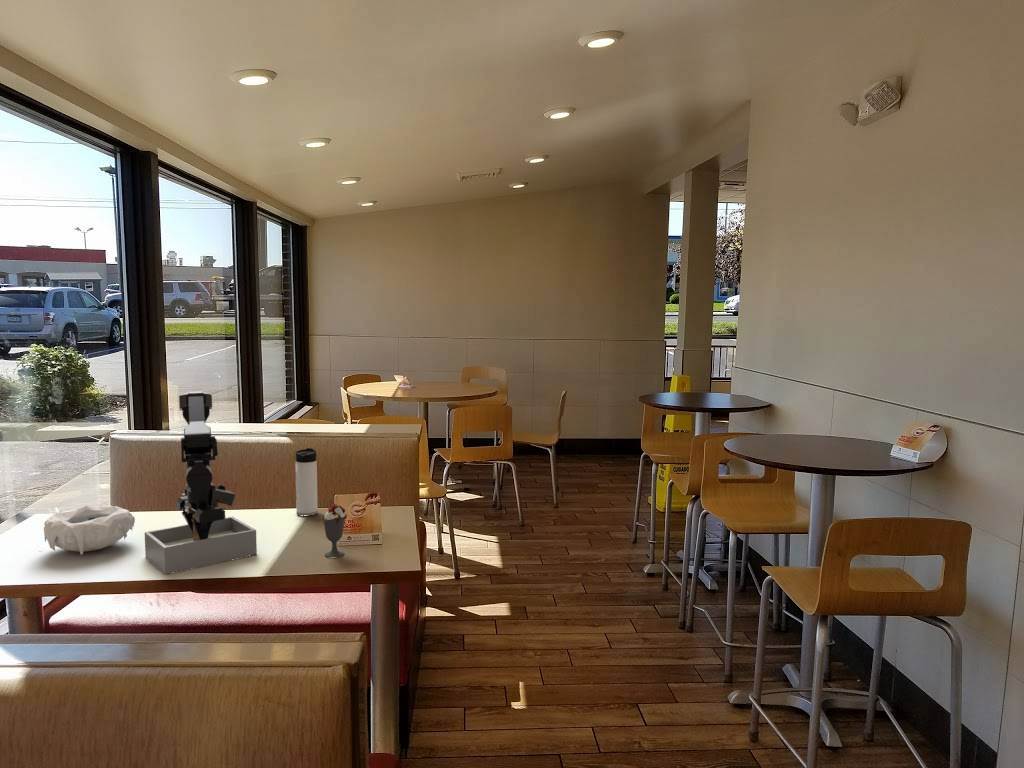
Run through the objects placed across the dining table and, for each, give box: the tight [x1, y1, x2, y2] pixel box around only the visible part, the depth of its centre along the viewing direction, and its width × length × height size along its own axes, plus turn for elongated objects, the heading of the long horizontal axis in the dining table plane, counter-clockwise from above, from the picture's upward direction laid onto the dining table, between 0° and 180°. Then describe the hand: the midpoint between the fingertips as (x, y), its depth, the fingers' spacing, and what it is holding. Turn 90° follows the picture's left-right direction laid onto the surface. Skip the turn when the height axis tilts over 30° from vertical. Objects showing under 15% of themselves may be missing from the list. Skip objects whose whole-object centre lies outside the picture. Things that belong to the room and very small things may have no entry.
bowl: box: [43, 504, 136, 556], centre depth 187 cm, size 21×20×10 cm
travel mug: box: [295, 447, 319, 516], centre depth 221 cm, size 6×7×20 cm
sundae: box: [320, 499, 348, 558], centre depth 184 cm, size 7×7×15 cm
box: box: [144, 516, 258, 575], centre depth 182 cm, size 16×22×6 cm
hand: (201, 541), depth 182 cm, fingers closed on peg, 3 cm apart
